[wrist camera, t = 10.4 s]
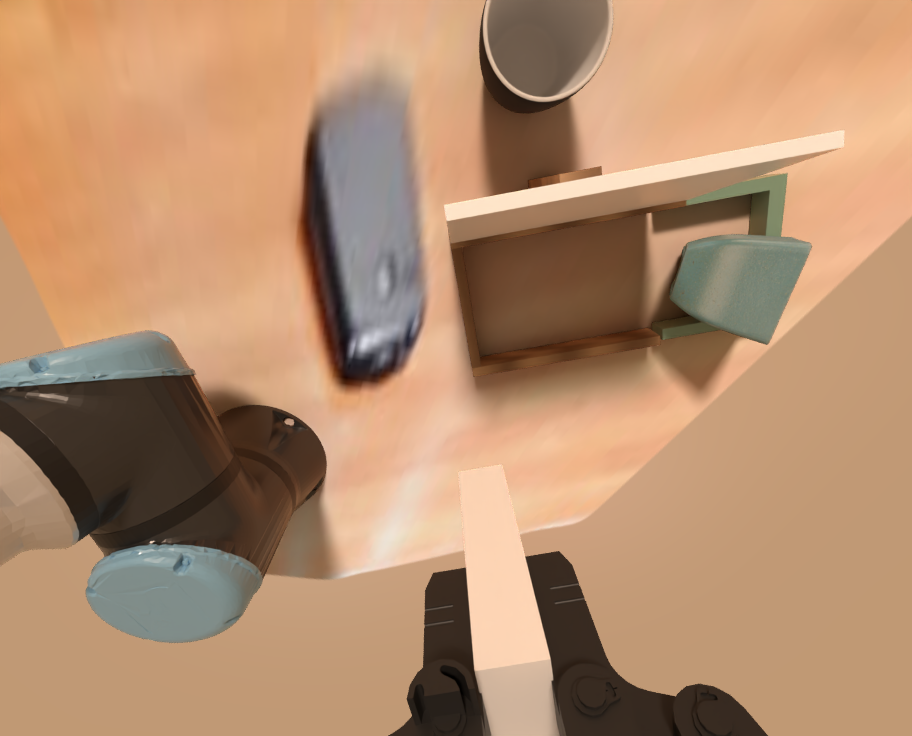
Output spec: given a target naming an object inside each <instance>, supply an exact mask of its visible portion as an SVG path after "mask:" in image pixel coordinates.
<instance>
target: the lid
mask: <svg viewBox="0 0 912 736" xmlns="http://www.w3.org/2000/svg"><path fill="white" fill-rule="evenodd" d="M843 147H844V130H840V131H835V132H829V133H824V134H819V135H813V136H808V137H803V138H798V139H792V140H787V141H782V142H776V143H771V144H766V145H760V146H755V147H750V148H744V149H739V150H734V151H728V152H723V153H718V154H712V155H707V156H702V157H696V158H691V159H686V160H680V161H675V162H670V163H664V164H659V165H654V166H648V167H643V168H638V169H632V170H627V171H622V172H616V173H611V174H606V175H601V176H595V177H590V178H585V179H579V180H574V181H569V182H563V183H558V184H553V185H547V186H542V187H537V188H531V189H526V190H521V191H515V192H510V193H505V194H499V195H494V196H489V197H483V198H478V199H473V200H467V201H462V202H457V203H451V204H446V205H444V209H445V214H446V220H447V226H448V232H449V238H450V244H451V243H456V242H462V241H467V240H473V239H478V238H483V237H489V236H494V235H500V234H505V233H511V232H516V231H521V230H527V229H532V228H538V227H543V226H549V225H554V224H559V223H565V222H570V221H576V220H581V219H587V218H592V217H597V216H603V215H608V214H614V213H619V212H625V211H630V210H635V209H641V208H646V207H652V206H657V205H662V204H668V203H673V202H679V201H684V200H689V199H692V198H695V197H698V196H701V195H704V194H707V193H710V192H713V191H716V190H719V189H722V188H725V187H728V186H730V185H733V184H736V183H739V182H742V181H745V180H748V179H751V178H754V177H757V176H760V175H763V174H766V173H769V172H772V171H775V170H778V169H781V168H784V167H787V166H790V165H793V164H796V163H799V162H802V161H804V160H807V159H810V158H813V157H816V156H819V155H822V154H825V153H828V152H831V151H834V150H837V149H840V148H843Z"/></svg>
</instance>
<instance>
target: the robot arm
mask: <svg viewBox="0 0 912 736" xmlns="http://www.w3.org/2000/svg"><path fill="white" fill-rule="evenodd" d="M194 375H196V373H195V371H194V370H193V369H190V368H189V366H188V365H187V363H186V361H185V360H184V358H183V357H182V355H181V353H180V352H179V350H178V348H177V347H176V345H175V344H174V342H173V341H172V340H171V339H170V338H169V337H168V336H166V335H165V334H162V333H160V332H156V331H140V332H135V333H130V334H125V335H120V336H116V337H111V338H107V339H102V340H98V341H94V342H89V343H85V344H81V345H77V346H72V347H68V348H64V349H59V350H55V351H50V352H46V353H42V354H38V355H34V356H30V357H25V358H21V359H17V360H13V361H9V362H5V363H2V364H0V566H1V565H3V564H4V563H6V562H8V561H9V560H11V559H12V558H14V557H15V556H17V555H18V554H20V553H21V552H24V551H28V550H33V549H62V548H69V547H71V546H72V545H74V544H76V543H77V542H78V541H80V540H81V539H83V538H84V537H85V536H87V535H88V534H89V535H90V536H91V537H92V539H93V540H94V541H95V543H96V544H97V545H98V547H99V548H100V549H101V551H102V552H103V553H104V558H103V559H102V560H100V561H99V562H98V563H97V564H96V565H95V566H94V567H93V569H92V572H91V576H90V577H89V579H88V587H87V589H86V597H87V600H88V603H89V604H90V606H91V608H92V610H93V611H94V612H95V613H96V614H97V615H98V616H99V617H100V618H101V619H102V620H104V621H105V622H106V623H108V624H109V625H111V626H112V627H115V628H116V629H118V630H120V631H122V632H125V633H127V634H129V635H133V636H135V637H139V638H142V639H149V640H154V641H159V642H169V643H183V642H192V641H198V640H203V639H206V638H210V637H213V636H215V635H217V634H219V633H221V632H223V631H225V630H227V629H228V628H230V627H231V626H232V625H233V624H234V623H236V621H237V620H238V619H239V618H240V617H241V616H242V615H243V613H244V612H245V610H246V608H247V606H248V604H249V602H250V601H251V599H252V597H253V595H254V594H255V593H256V592H257V591H258V589H259V588H260V586H261V584H262V580H263V578H264V576H265V573H266V571H267V569H268V567H269V565H270V562H271V560H272V558H273V556H274V553H275V551H276V549H277V547H278V544H279V542H280V540H281V538H282V536H283V533H284V531H285V529H286V527H287V524H288V522H289V520H290V518H291V516H292V514H293V512H294V511H295V510H297V509H298V508H299V507H300V506H301V505H302V504H303V503H304V502H305V501H306V500H308V499H309V498H310V497H311V496H312V495H314V494H315V493H316V491H317V490H318V489H319V487H320V486H321V484H322V482H323V480H324V477H325V474H326V466H327V463H326V455H325V451H324V448H323V446H322V444H321V442H320V440H319V438H318V437H317V435H316V434H315V433H314V432H313V430H312V429H311V428H310V427H309V426H308V425H307V424H305V423H304V422H303V421H302V420H300V419H299V418H297V417H296V416H294V415H292V414H290V413H288V412H286V411H283V410H280V409H277V408H273V407H269V406H261V405H249V406H242V407H237V408H234V409H231V410H229V411H227V412H225V413H223V414H221V415H220V416H218V417H216V415H215V413H214V411H213V409H212V407H211V406H210V404H209V402H208V400H207V398H206V396H205V394H204V393H203V391H202V389H201V387H200V385H199V383H198V382H197V380H196V378H195V376H194ZM286 417H289V418H293V420H294V425H292V426H290V425H286V424H285V423H284V418H286ZM458 476H459V488H460V500H461V513H462V525H463V537H464V549H465V562H466V568H461V569H455V570H449V571H443V572H437V573H433V575H432V577H431V579H430V581H429V583H428V585H427V588H426V590H425V620H424V622H425V623H424V624H425V628H424V657H423V668H422V669H421V670H420V671H419V672H418V673H417V674H416V676H415V678H414V679H413V681H412V683H411V684H410V687H409V692H408V696H407V701H408V704H409V707H410V710H411V713H412V717H411V718H410V719H409V720H408V721H407V722H406V723H405V725H404V726H402V727H401V728H400V729H398V730H397V731H395V732H394V733H393V734H390V735H389V736H768V735H767V734H766V733H765V732H764V731H763V729H762V728H761V727H760V726H759V725H758V724H757V722H756V721H755V720H754V719H753V718H752V716H751V715H750V714H749V713H748V712H747V711H746V709H745V708H744V707H743V706H742V705H740V704H739V703H738V702H737V701H736V700H735V699H734V698H733V697H732V696H730V695H729V694H727V693H725V692H723V691H721V690H720V689H717V688H715V687H713V686H708V685H703V684H695V685H691V686H686V687H685V688H684V689H683V690H681V691H680V692H679V693H678V694H677V696H676V697H675V696H670V695H666V694H661V693H656V692H651V691H647V690H644V689H640V688H637V687H636V686H634V685H632V684H630V683H628V682H627V681H625V680H624V679H623V678H622V677H621V676H620V675H618V674H617V672H616V671H615V670H614V669H613V668H612V666H611V665H610V663H609V661H608V659H607V657H606V655H605V652H604V649H603V647H602V644H601V641H600V639H599V636H598V633H597V631H596V628H595V625H594V622H593V620H592V618H591V614H590V612H589V609H588V606H587V604H586V601H585V599H584V596H583V593H582V590H581V588H580V586H579V583H578V580H577V577H576V574H575V571H574V569H573V566H572V564H571V563H570V562H569V561H568V560H567V559H566V558H565V557H564V556H563V555H562V554H561V553H560V552H559V551H558V552H551V553H545V554H539V555H533V556H527V557H525V554H524V550H523V546H522V543H521V539H520V534H519V530H518V526H517V522H516V518H515V514H514V510H513V506H512V502H511V498H510V494H509V490H508V486H507V482H506V478H505V474H504V470H503V466H502V464H500V465H494V466H488V467H482V468H476V469H470V470H464V471H459V472H458ZM316 485H317V488H316V489H314V487H315V486H316Z"/></svg>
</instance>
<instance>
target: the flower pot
mask: <svg viewBox="0 0 912 736" xmlns="http://www.w3.org/2000/svg"><path fill="white" fill-rule="evenodd" d="M811 248H812V245H811V243H809V242H805V241H801V240H798V239H795V238H792V237H778V236H761V235H742V234H731V235H719V236H713V237H707V238H703V239H699V240H695V241H691V242H688V243H687V244H686V246H684V248H683V251H682V256H681V257H682V259H681V262H680V265H679V268H678V271H677V274H676V277H675V280H674V281H673V282H672V284H671V289H670V293H669V295H670V300H671V301H672V302H673V303H675V304H676V305H677V306H678V307H679V308H681V309H682V310H683V311H684V312H686V313H687V314H689V315H690V316H692V317H694V318H695V319H697V320H699V321H701V322H703V323H705V324H707V325H710V326H712V327H715V328H717V329H720V330H723V331H726V332H729V333H732V334H735V335H738V336H741V337H744V338H747V339H750V340H753V341H757V342H760V343H763V344H766V345H767V344H769V342H770V340H771V338H772V336H773V334H774V331H775V329H776V327H777V325H778V322H779V320H780V318H781V316H782V313H783V311H784V309H785V307H786V305H787V302H788V300H789V298H790V296H791V293H792V291H793V289H794V287H795V284H796V282H797V280H798V278H799V276H800V274H801V271H802V269H803V267H804V265H805V262H806V260H807V258H808V255H809V253H810V250H811Z"/></svg>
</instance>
